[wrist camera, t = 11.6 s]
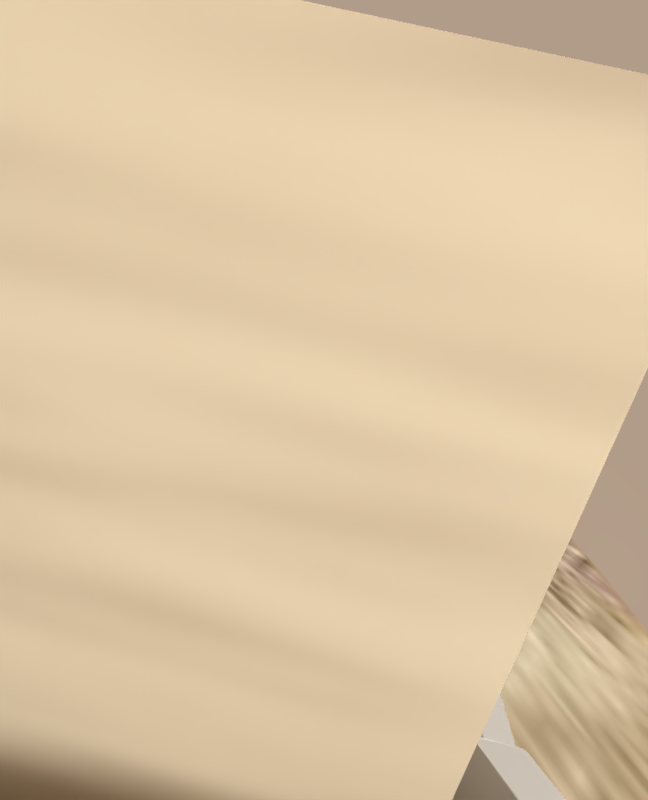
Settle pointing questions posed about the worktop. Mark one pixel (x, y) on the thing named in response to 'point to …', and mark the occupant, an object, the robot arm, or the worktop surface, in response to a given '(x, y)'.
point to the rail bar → (294, 387)
